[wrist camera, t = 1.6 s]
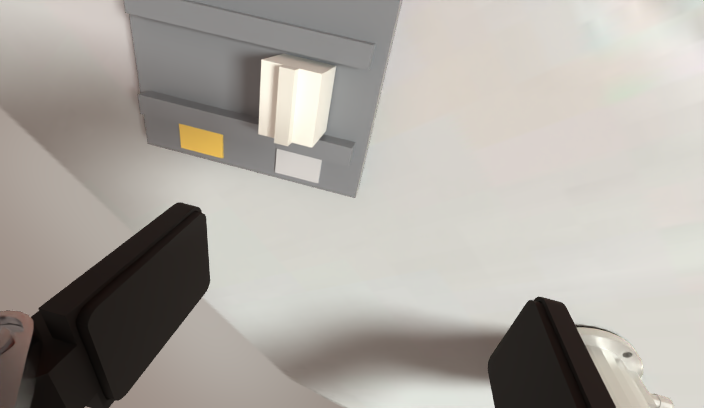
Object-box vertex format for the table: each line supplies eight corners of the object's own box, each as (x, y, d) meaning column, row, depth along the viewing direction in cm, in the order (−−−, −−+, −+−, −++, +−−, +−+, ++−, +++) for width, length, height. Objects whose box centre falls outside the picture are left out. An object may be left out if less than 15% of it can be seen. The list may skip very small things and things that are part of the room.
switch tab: (336, 65, 24) (318, 76, 20) (326, 130, 26) (308, 151, 22) (284, 53, 24) (255, 60, 20) (279, 119, 27) (253, 137, 23)
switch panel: (404, -10, 23) (402, -15, 20) (358, 188, 31) (352, 206, 28) (137, -69, 24) (97, -82, 21) (162, 137, 32) (135, 149, 29)
